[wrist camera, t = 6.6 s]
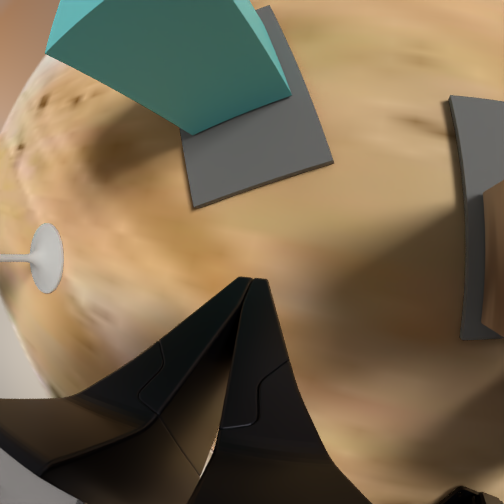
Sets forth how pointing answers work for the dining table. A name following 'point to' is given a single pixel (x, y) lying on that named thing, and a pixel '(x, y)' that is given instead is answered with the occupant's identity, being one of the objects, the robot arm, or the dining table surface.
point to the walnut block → (494, 259)
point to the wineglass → (43, 258)
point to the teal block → (173, 55)
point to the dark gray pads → (318, 155)
